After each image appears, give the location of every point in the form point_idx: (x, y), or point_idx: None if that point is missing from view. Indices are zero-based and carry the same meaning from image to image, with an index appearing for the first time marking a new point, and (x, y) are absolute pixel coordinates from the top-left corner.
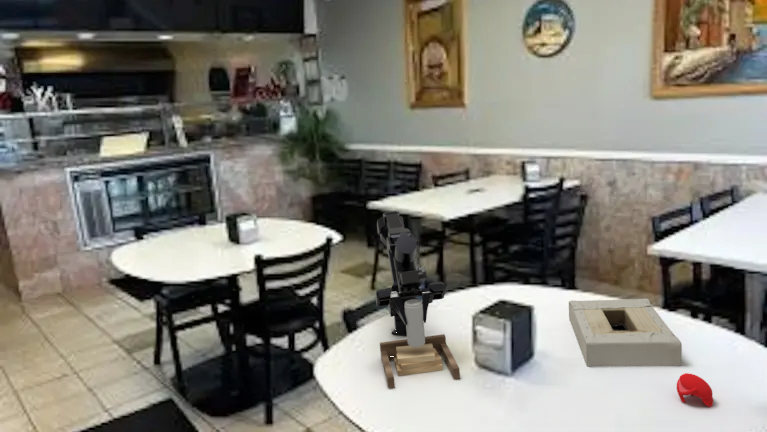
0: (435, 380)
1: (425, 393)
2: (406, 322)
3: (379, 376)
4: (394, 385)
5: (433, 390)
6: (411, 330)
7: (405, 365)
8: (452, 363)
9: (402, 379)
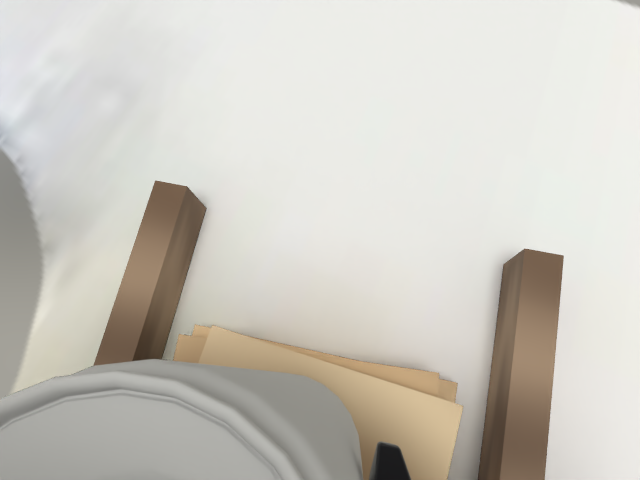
0: (286, 242)
1: (379, 152)
2: (381, 449)
3: (558, 438)
4: (508, 262)
5: (335, 160)
6: (332, 402)
7: (410, 369)
8: (157, 245)
9: (439, 333)
